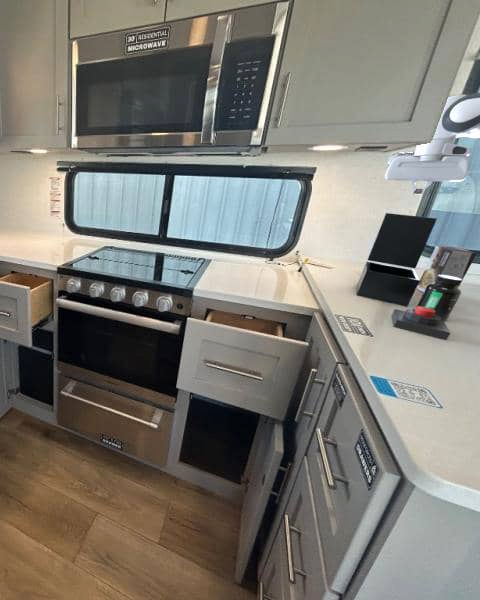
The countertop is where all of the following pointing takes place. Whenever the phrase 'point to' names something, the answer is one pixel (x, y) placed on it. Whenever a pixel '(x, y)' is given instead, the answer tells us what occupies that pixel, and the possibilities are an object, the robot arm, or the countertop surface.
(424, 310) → the button
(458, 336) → the countertop surface
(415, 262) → the bin lid
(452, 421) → the countertop surface
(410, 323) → the control block
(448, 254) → the coffee box
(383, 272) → the bin
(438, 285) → the supplement bottle
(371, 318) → the countertop surface
